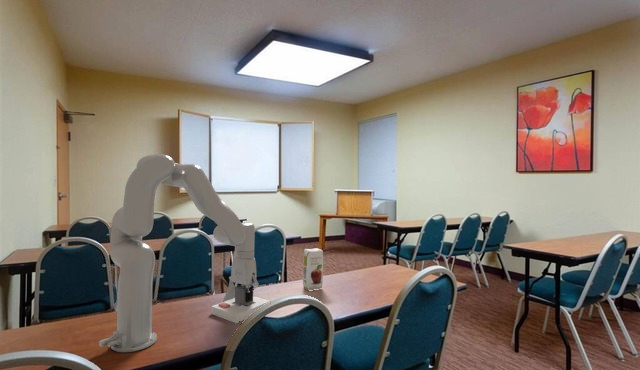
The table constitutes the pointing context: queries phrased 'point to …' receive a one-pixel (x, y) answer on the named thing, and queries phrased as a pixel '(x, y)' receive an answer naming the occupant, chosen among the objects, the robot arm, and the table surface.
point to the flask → (230, 291)
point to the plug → (241, 294)
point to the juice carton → (313, 269)
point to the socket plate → (236, 309)
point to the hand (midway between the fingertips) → (243, 299)
